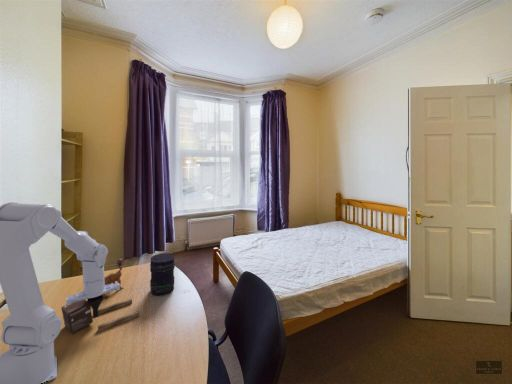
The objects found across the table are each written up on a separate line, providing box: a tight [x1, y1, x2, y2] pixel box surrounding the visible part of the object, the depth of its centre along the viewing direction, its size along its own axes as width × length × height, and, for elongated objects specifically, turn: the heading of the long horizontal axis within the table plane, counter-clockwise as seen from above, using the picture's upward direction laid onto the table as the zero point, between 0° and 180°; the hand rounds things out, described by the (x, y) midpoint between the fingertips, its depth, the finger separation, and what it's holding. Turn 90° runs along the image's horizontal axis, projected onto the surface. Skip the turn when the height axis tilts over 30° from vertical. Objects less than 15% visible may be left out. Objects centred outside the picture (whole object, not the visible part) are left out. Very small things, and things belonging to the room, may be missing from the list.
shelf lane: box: [97, 298, 140, 332], centre depth 79 cm, size 12×11×2 cm
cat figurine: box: [86, 256, 126, 302], centre depth 90 cm, size 18×7×14 cm, turn 158°
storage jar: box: [149, 252, 176, 297], centre depth 96 cm, size 10×10×15 cm
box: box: [61, 299, 94, 335], centre depth 72 cm, size 6×6×7 cm
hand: (95, 316), depth 75 cm, fingers closed, pressing on box
